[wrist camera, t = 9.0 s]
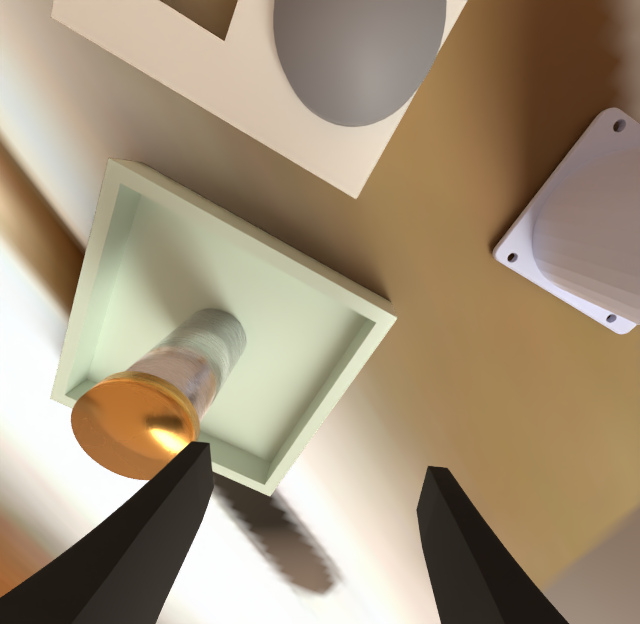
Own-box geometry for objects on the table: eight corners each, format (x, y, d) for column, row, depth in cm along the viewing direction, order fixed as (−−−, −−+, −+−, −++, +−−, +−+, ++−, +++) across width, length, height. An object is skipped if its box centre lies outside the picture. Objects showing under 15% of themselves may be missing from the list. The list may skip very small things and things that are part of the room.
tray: (390, 301, 19) (397, 317, 16) (276, 467, 24) (269, 496, 22) (140, 162, 17) (108, 157, 14) (80, 377, 22) (50, 398, 20)
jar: (253, 310, 19) (188, 399, 11) (248, 373, 21) (189, 488, 13) (179, 297, 19) (61, 376, 11) (180, 361, 21) (80, 469, 13)
